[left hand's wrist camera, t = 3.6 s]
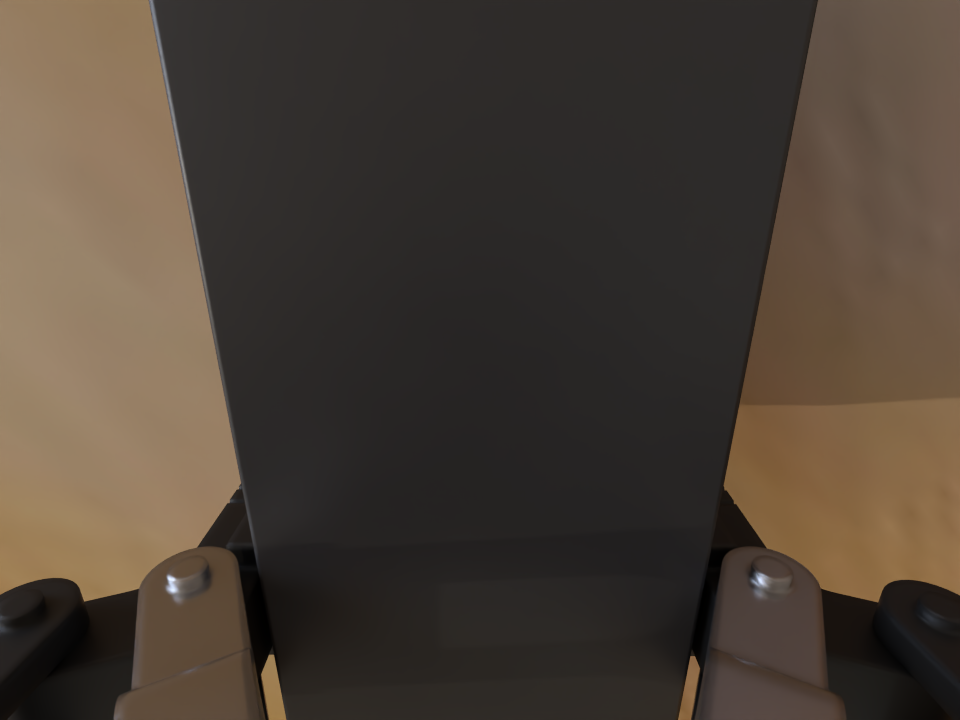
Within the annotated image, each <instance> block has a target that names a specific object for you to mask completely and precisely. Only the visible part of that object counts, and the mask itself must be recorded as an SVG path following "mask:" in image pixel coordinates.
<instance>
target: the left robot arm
mask: <svg viewBox="0 0 960 720" xmlns="http://www.w3.org/2000/svg"><path fill="white" fill-rule="evenodd" d="M269 655H274V651H273V646H272V641H271V636H270V631H269V625H268V620H267V615H266V610H265V604H264V599H263V594H262V589H261V584H260V578H259V573H258V568H257V563H256V557H255V552H254V547H253V542H252V537H251V531H250V526H249V521H248V516H247V510H246V505H245V500H244V495H243V490H242V484H241V485H240V486H239V490H236V492H235V493H234V495H233V496H232V498H231V499H230V503H227V505H226V506H225V508H224V509H223V511H222V512H221V514H220V515H219V516H218V518H217V519H216V521H215V522H214V524H213V525H212V527H211V528H210V530H209V531H208V532H207V534H206V535H205V537H204V538H203V540H202V541H201V543H200V544H199V546H198V547H197V548H193V549H189V550H186V551H183V552H180V553H178V554H176V555H173V556H171V557H170V558H168V559H166V560H164V561H163V562H161V563H160V564H158V565H157V566H156V567H155V568H153V569H152V570H151V571H150V572H149V573H148V574H147V575H146V577H145V578H144V580H143V581H142V583H141V585H140V588H139V589H137V590H133V591H129V592H125V593H120V594H116V595H112V596H107V597H103V598H99V599H94V600H90V601H86V602H84V600H83V597H82V594H81V592H80V589H79V587H78V585H77V584H76V583H74V582H73V581H71V580H68V579H63V578H49V579H42V580H37V581H33V582H30V583H26V584H24V585H21V586H18V587H16V588H13V589H11V590H9V591H7V592H5V593H3V594H1V595H0V720H269V716H268V710H267V704H266V698H265V692H264V686H263V681H262V676H261V673H262V671H263V668H264V666H265V663H266V661H267V658H268V656H269ZM690 656H695V657H696V660H697V662H698V664H699V667H700V671H699V676H698V681H697V686H696V692H695V698H694V704H693V710H692V716H691V720H960V595H958V594H956V593H954V592H951V591H949V590H947V589H944V588H942V587H939V586H936V585H933V584H929V583H926V582H921V581H915V580H898V581H893V582H891V583H889V584H887V585H886V586H885V587H884V589H883V591H882V594H881V596H880V599H879V602H878V603H877V602H873V601H869V600H864V599H860V598H856V597H851V596H847V595H843V594H838V593H834V592H830V591H827V590H823V589H821V588H820V585H819V583H818V581H817V580H816V578H815V577H814V575H813V574H812V573H811V572H810V571H809V570H808V569H807V568H805V567H804V566H803V565H802V564H800V563H799V562H797V561H796V560H794V559H792V558H790V557H789V556H787V555H784V554H782V553H780V552H777V551H774V550H771V549H767V548H766V546H765V545H764V544H763V542H762V541H761V539H760V538H759V536H758V535H757V534H756V532H755V531H754V529H753V528H752V526H751V525H750V524H749V522H748V521H747V519H746V518H745V516H744V515H743V513H742V512H741V511H740V509H739V508H738V506H737V505H736V504H734V501H733V499H732V498H731V496H730V495H729V493H728V492H727V491H725V490H724V486H723V490H722V496H721V501H720V506H719V511H718V516H717V521H716V526H715V532H714V537H713V542H712V547H711V552H710V557H709V562H708V568H707V573H706V578H705V583H704V588H703V593H702V598H701V604H700V609H699V614H698V619H697V624H696V629H695V634H694V640H693V645H692V650H691V655H690Z"/></svg>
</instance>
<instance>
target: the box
mask: <svg viewBox="0 0 960 720" xmlns="http://www.w3.org/2000/svg"><path fill="white" fill-rule="evenodd" d="M817 2H818V0H149V4H150V9H151V14H152V20H153V25H154V30H155V35H156V41H157V46H158V51H159V56H160V61H161V67H162V72H163V77H164V82H165V88H166V93H167V98H168V103H169V108H170V114H171V119H172V124H173V129H174V135H175V140H176V145H177V150H178V155H179V161H180V166H181V171H182V176H183V181H184V187H185V192H186V197H187V202H188V208H189V213H190V218H191V223H192V228H193V234H194V239H195V244H196V249H197V255H198V260H199V265H200V270H201V275H202V281H203V286H204V291H205V296H206V302H207V307H208V312H209V317H210V322H211V328H212V333H213V338H214V343H215V349H216V354H217V359H218V364H219V369H220V375H221V380H222V385H223V390H224V396H225V401H226V406H227V411H228V416H229V422H230V427H231V432H232V437H233V443H234V448H235V453H236V458H237V463H238V469H239V474H240V479H241V484H242V490H243V495H244V500H245V505H246V510H247V516H248V521H249V526H250V531H251V537H252V542H253V547H254V552H255V557H256V563H257V568H258V573H259V578H260V584H261V589H262V594H263V599H264V604H265V610H266V615H267V620H268V625H269V631H270V636H271V641H272V646H273V651H274V657H275V662H276V667H277V672H278V678H279V683H280V688H281V693H282V698H283V704H284V709H285V714H286V719H287V720H678V717H679V712H680V706H681V701H682V696H683V691H684V686H685V681H686V676H687V670H688V665H689V660H690V655H691V650H692V645H693V640H694V634H695V629H696V624H697V619H698V614H699V609H700V604H701V598H702V593H703V588H704V583H705V578H706V573H707V568H708V562H709V557H710V552H711V547H712V542H713V537H714V532H715V526H716V521H717V516H718V511H719V506H720V501H721V496H722V490H723V485H724V480H725V475H726V470H727V465H728V460H729V454H730V449H731V444H732V439H733V434H734V429H735V423H736V418H737V413H738V408H739V403H740V398H741V393H742V387H743V382H744V377H745V372H746V367H747V362H748V357H749V351H750V346H751V341H752V336H753V331H754V326H755V321H756V315H757V310H758V305H759V300H760V295H761V290H762V285H763V279H764V274H765V269H766V264H767V259H768V254H769V249H770V243H771V238H772V233H773V228H774V223H775V218H776V213H777V207H778V202H779V197H780V192H781V187H782V182H783V177H784V171H785V166H786V161H787V156H788V151H789V146H790V141H791V135H792V130H793V125H794V120H795V115H796V110H797V105H798V99H799V94H800V89H801V84H802V79H803V74H804V69H805V63H806V58H807V53H808V48H809V43H810V38H811V33H812V27H813V22H814V17H815V12H816V7H817Z"/></svg>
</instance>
